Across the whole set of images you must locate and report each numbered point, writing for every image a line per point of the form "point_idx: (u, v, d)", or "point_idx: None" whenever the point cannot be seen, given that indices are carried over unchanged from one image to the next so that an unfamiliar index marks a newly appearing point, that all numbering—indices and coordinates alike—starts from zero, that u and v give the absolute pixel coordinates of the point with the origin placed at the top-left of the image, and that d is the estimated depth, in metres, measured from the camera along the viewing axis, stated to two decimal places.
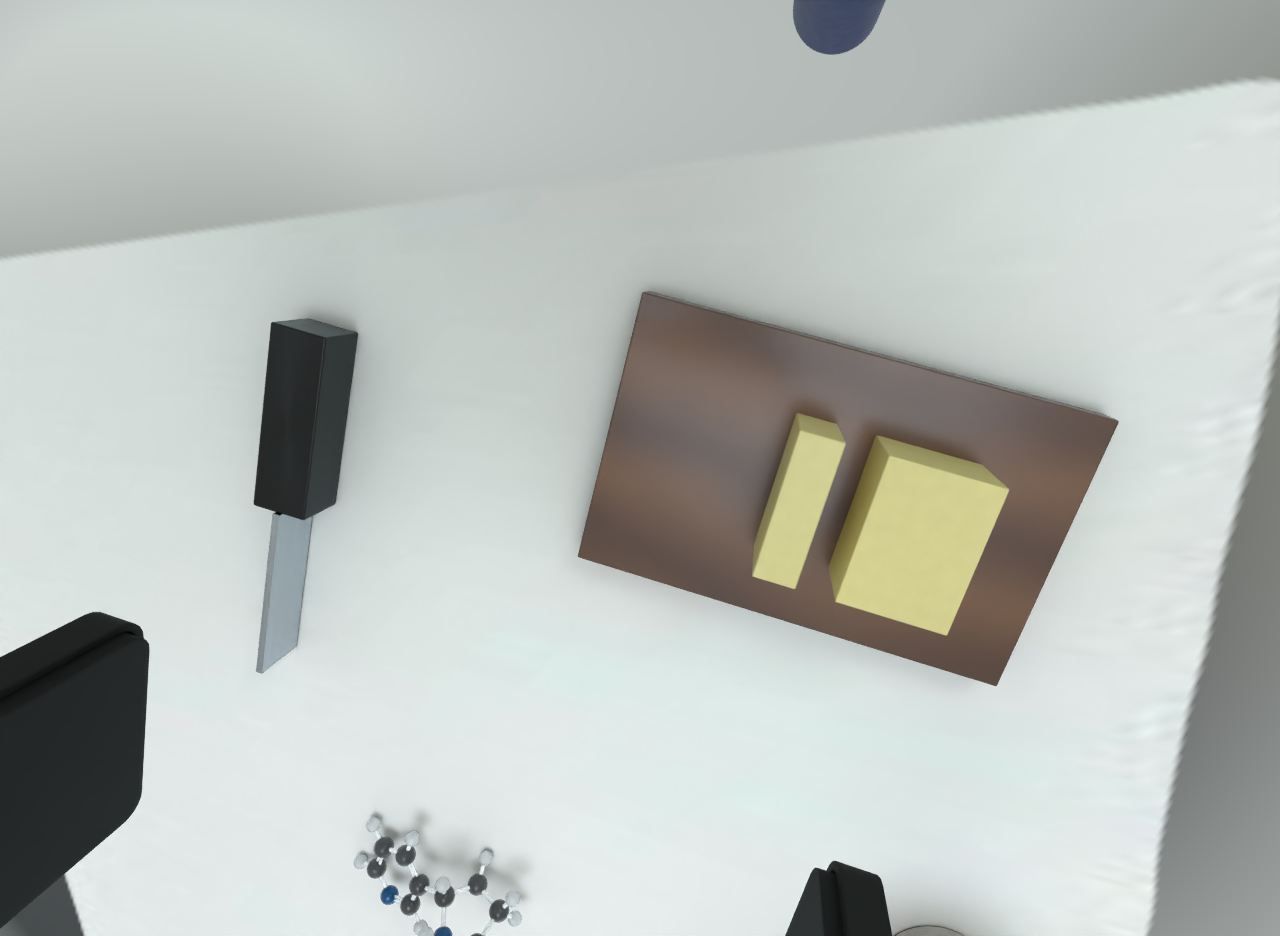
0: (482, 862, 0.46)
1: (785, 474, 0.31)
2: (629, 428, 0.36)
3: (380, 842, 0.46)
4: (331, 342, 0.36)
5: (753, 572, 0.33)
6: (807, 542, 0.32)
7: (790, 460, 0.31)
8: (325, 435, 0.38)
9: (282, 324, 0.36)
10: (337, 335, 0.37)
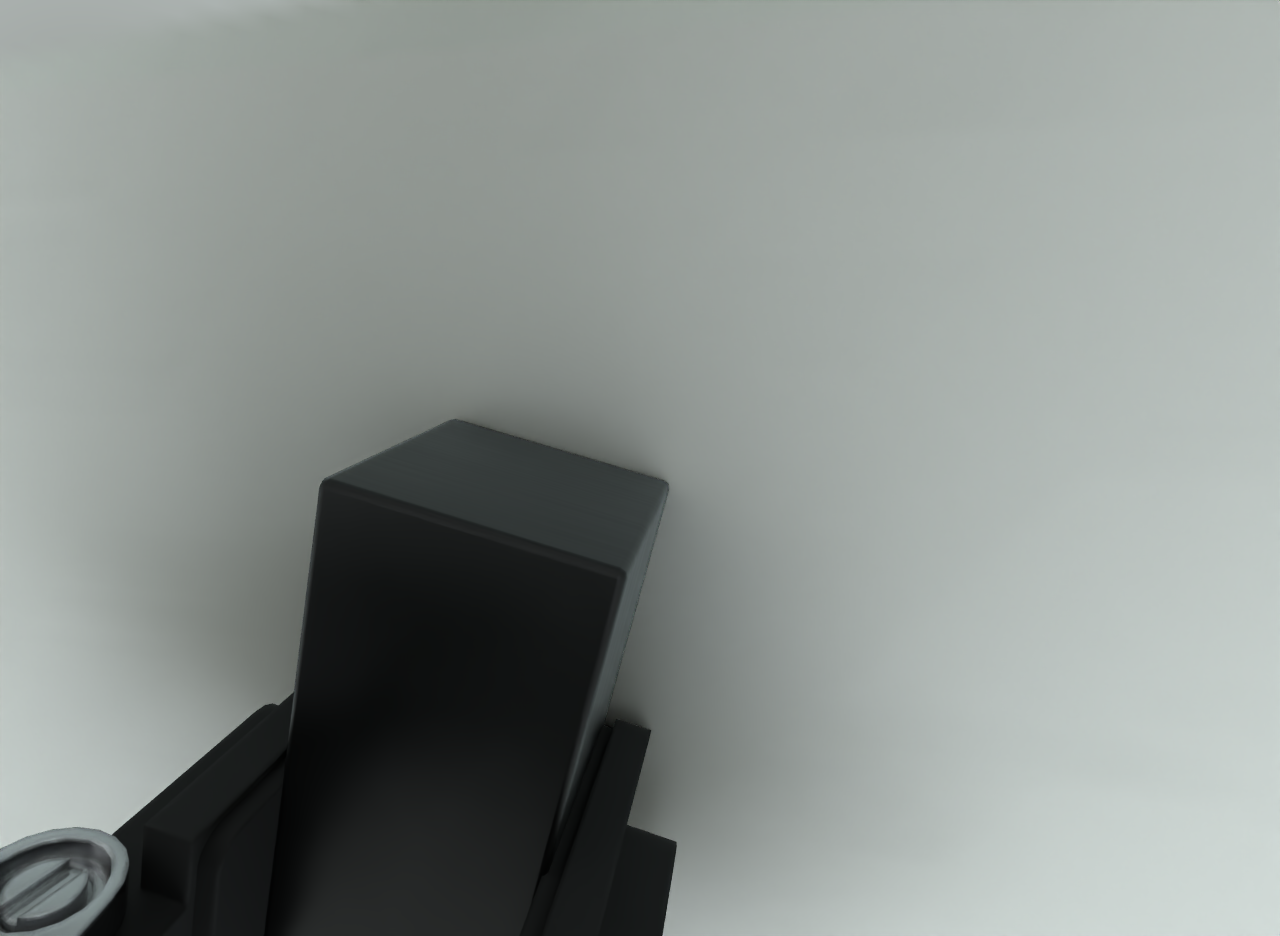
0: None
1: None
2: None
3: None
4: (631, 578, 0.07)
5: None
6: None
7: None
8: None
9: (379, 490, 0.07)
10: (639, 526, 0.08)
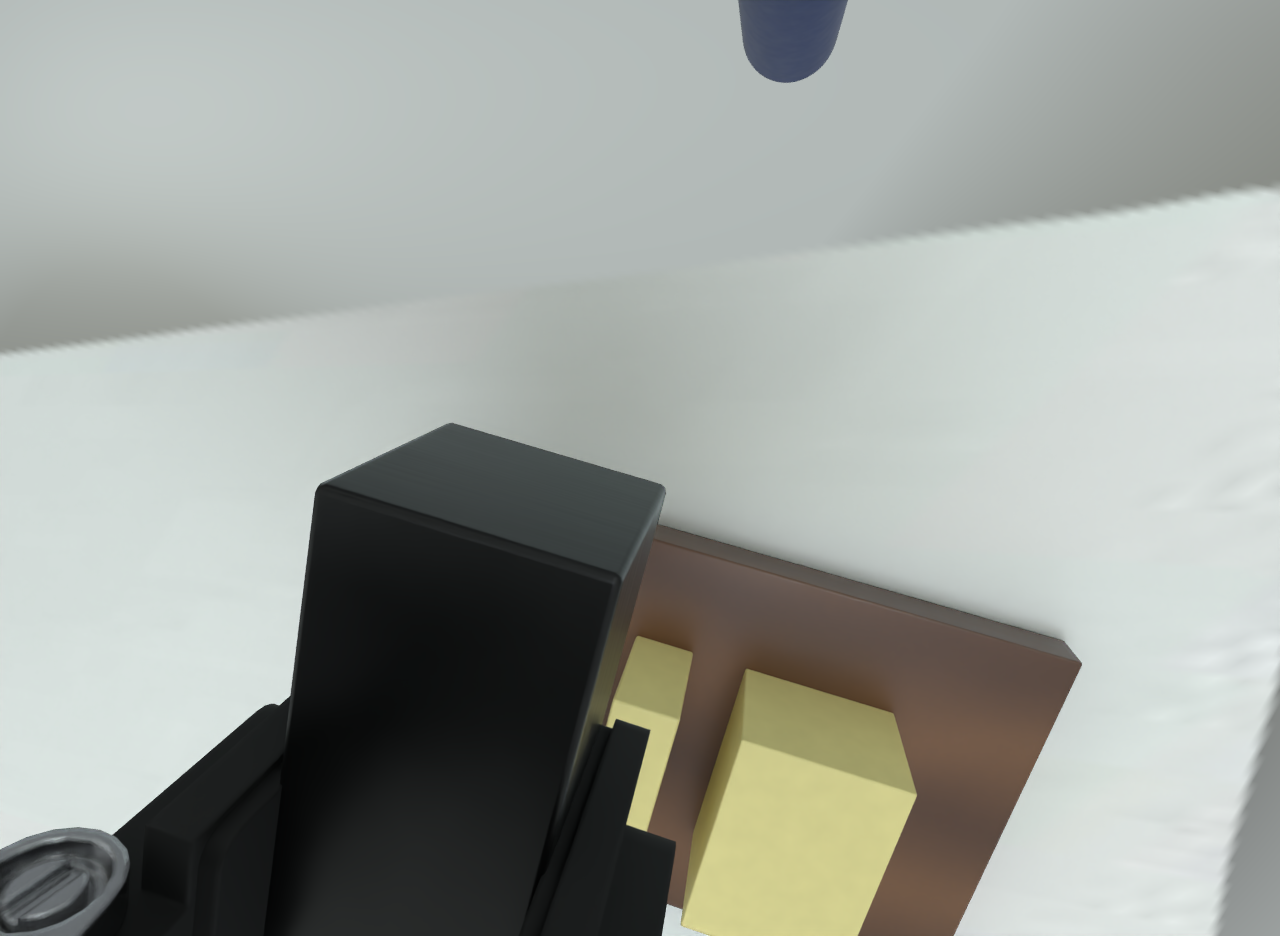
0: None
1: None
2: None
3: None
4: (627, 583, 0.07)
5: None
6: None
7: None
8: None
9: (375, 495, 0.07)
10: (635, 531, 0.08)
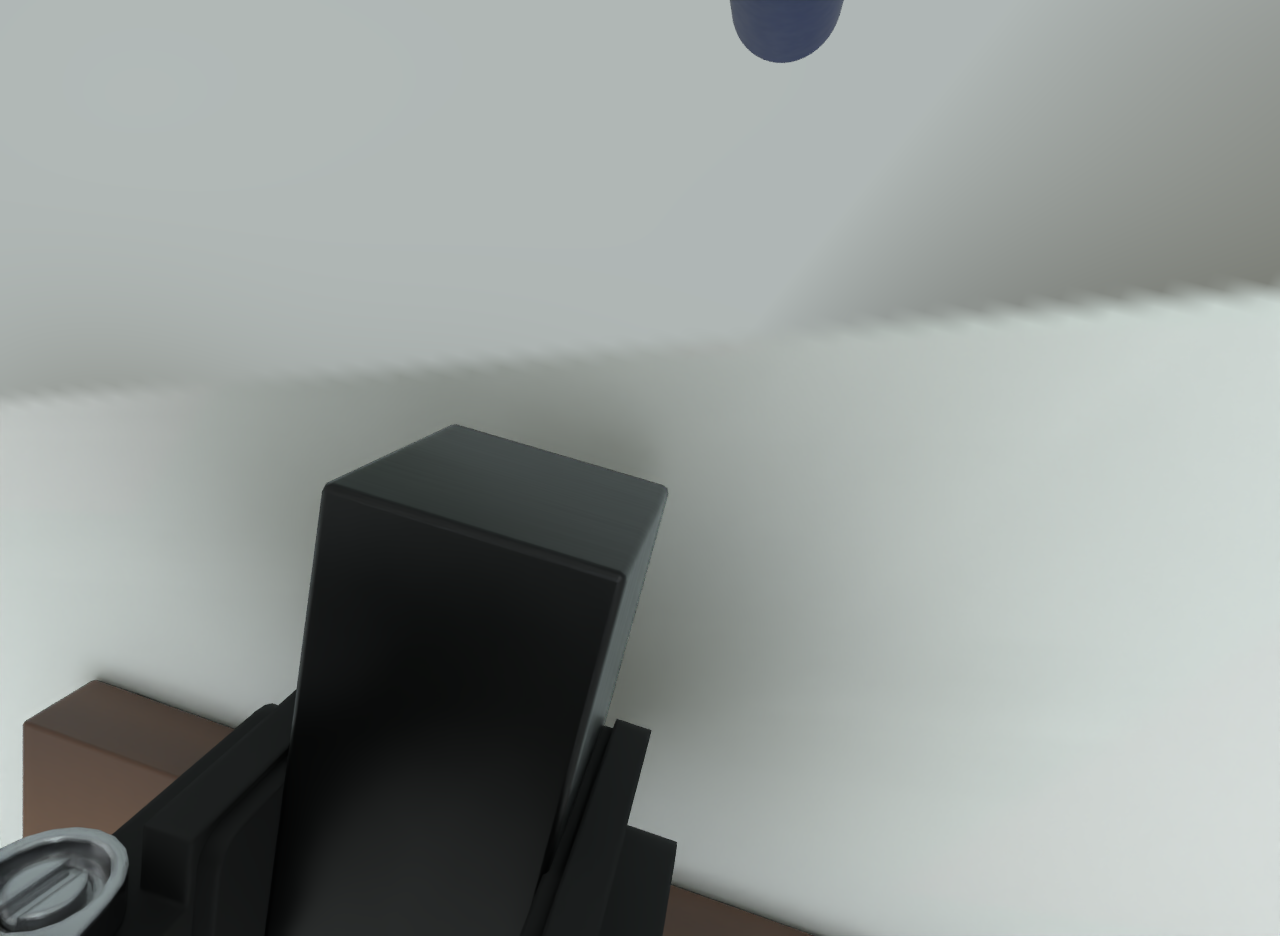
0: None
1: None
2: None
3: None
4: (631, 582, 0.07)
5: None
6: None
7: None
8: None
9: (382, 494, 0.07)
10: (639, 530, 0.08)
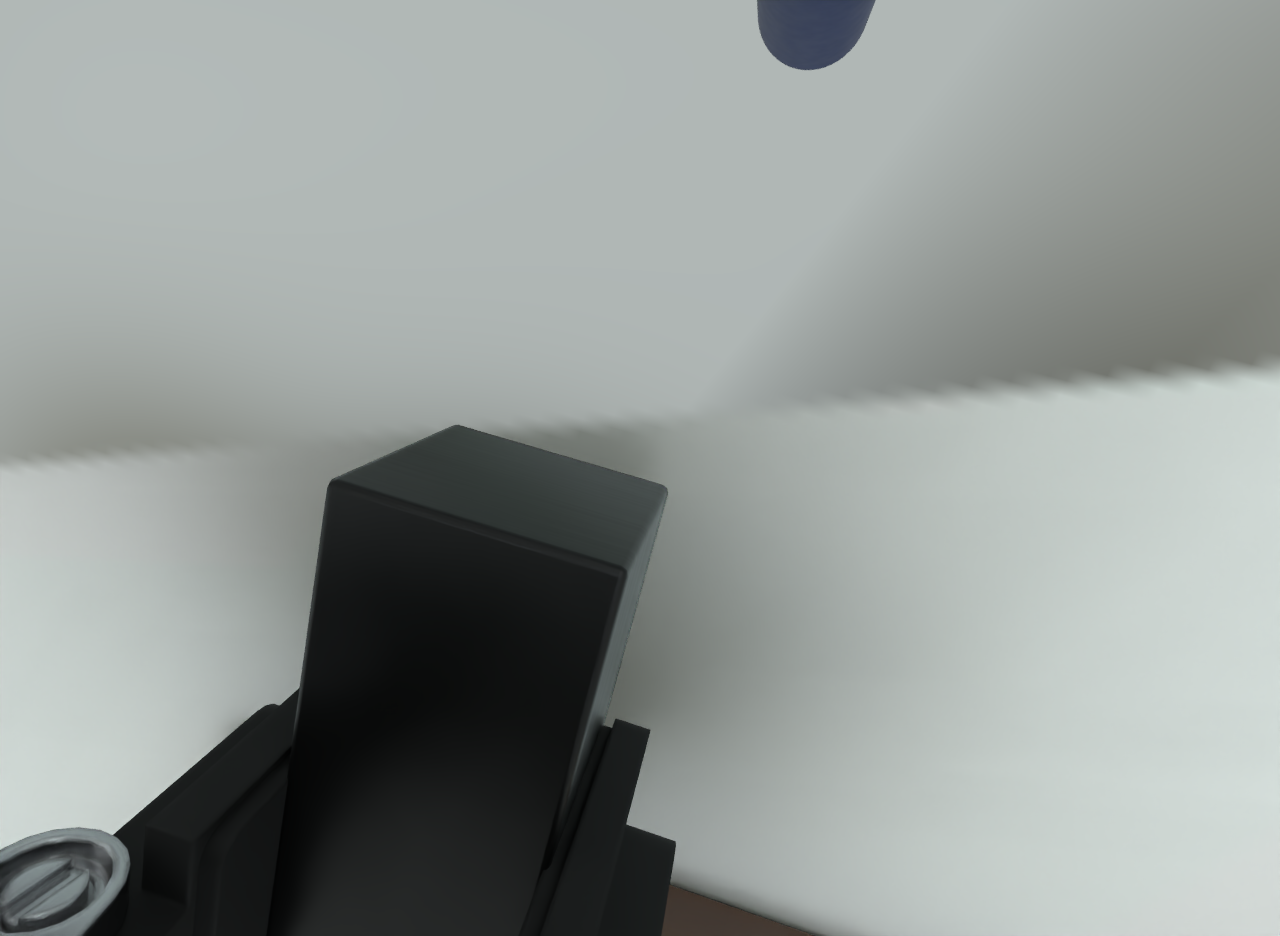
0: None
1: None
2: None
3: None
4: (631, 577, 0.07)
5: None
6: None
7: None
8: None
9: (386, 490, 0.07)
10: (639, 528, 0.08)
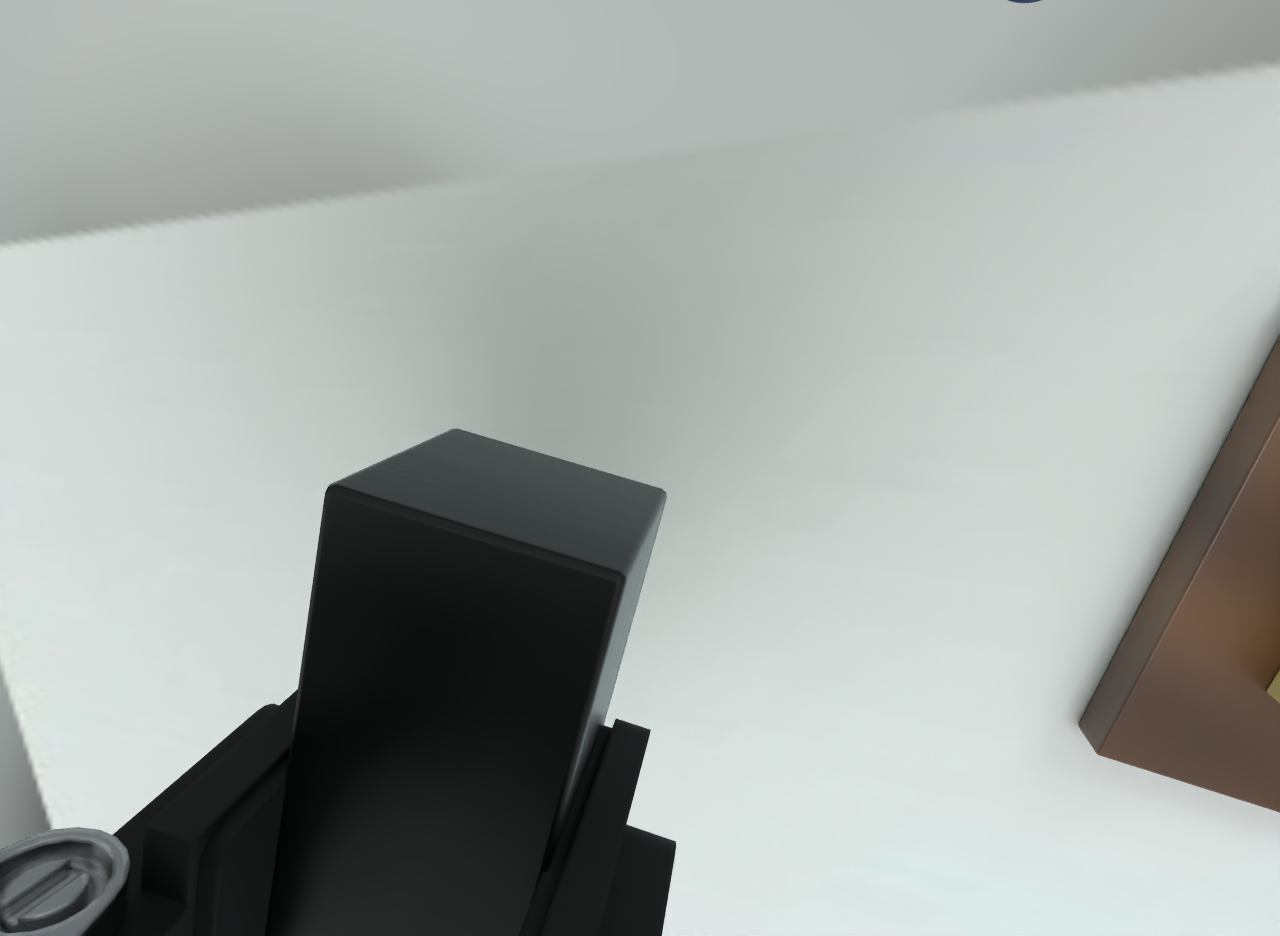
0: None
1: None
2: (1255, 542, 0.20)
3: None
4: (630, 582, 0.07)
5: None
6: None
7: None
8: None
9: (384, 495, 0.07)
10: (638, 533, 0.08)
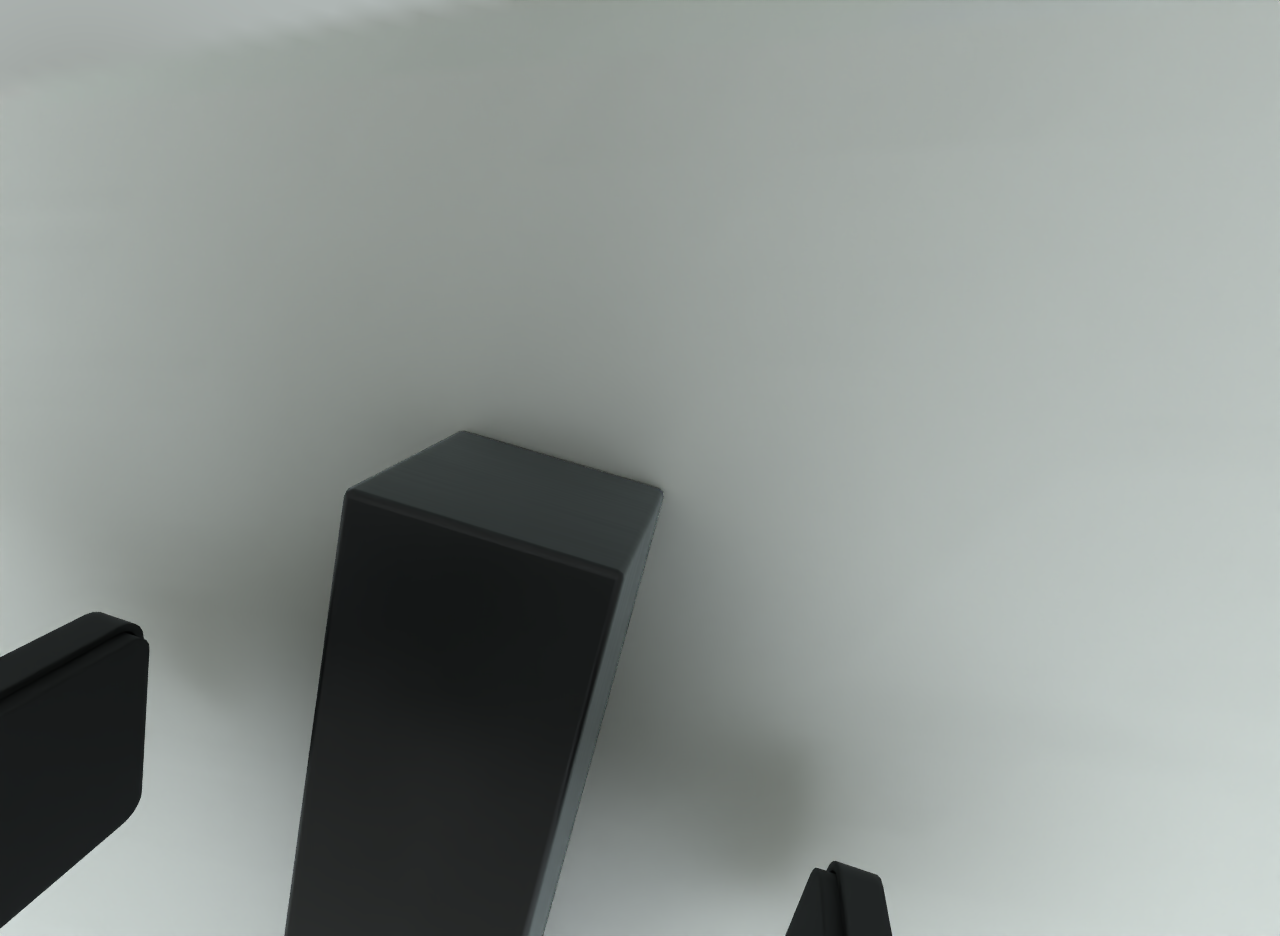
0: None
1: None
2: None
3: None
4: (628, 579, 0.08)
5: None
6: None
7: None
8: (544, 902, 0.10)
9: (398, 499, 0.07)
10: (635, 532, 0.08)
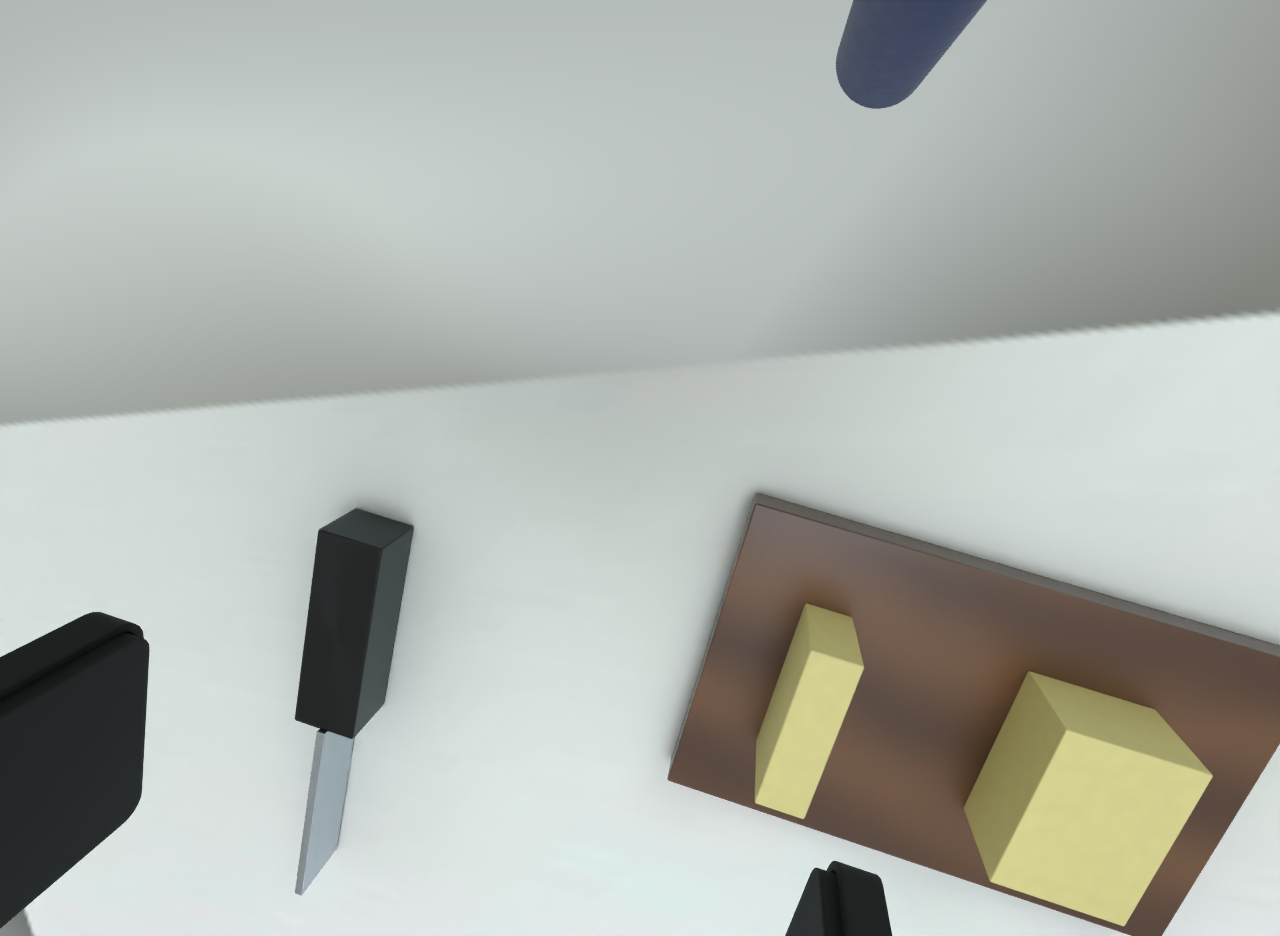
0: None
1: (793, 696, 0.27)
2: (734, 648, 0.31)
3: None
4: (387, 550, 0.32)
5: (756, 798, 0.28)
6: (818, 770, 0.27)
7: (799, 681, 0.27)
8: (377, 644, 0.34)
9: (331, 531, 0.31)
10: (393, 539, 0.32)
